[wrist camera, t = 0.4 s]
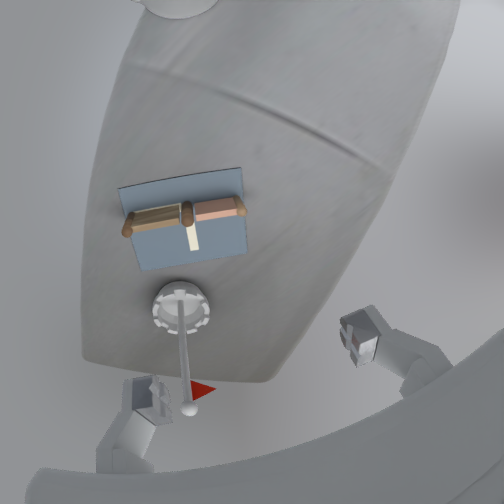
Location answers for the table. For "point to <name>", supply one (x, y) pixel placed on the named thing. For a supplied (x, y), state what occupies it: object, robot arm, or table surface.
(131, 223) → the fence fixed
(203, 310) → the flag stand
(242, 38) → the table surface
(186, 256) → the board
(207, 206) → the fence section
